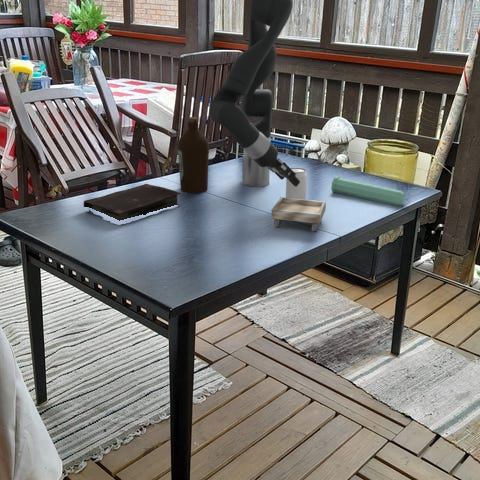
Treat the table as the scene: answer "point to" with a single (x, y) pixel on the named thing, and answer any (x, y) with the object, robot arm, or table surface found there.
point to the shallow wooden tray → (298, 211)
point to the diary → (134, 201)
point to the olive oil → (193, 159)
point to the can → (300, 189)
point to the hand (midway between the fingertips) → (290, 180)
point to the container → (367, 191)
